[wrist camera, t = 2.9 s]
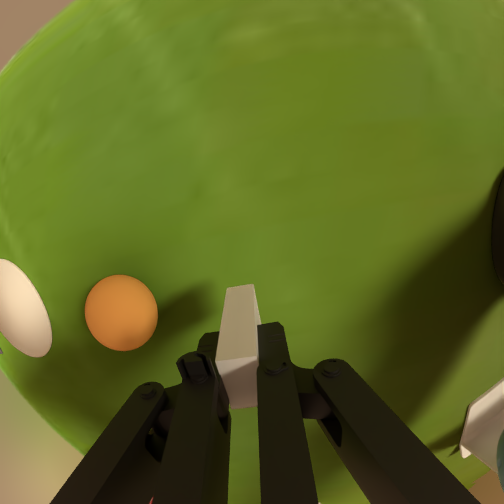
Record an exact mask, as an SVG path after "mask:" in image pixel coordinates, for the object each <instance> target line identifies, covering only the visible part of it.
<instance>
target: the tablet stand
mask: <svg viewBox="0 0 504 504" xmlns="http://www.w3.org/2000/svg"><path fill="white" fill-rule="evenodd" d="M503 429H504V377H503V378H502V379H501V380H500V381H499V382H497V383H496V384H495V385H494V386H492V387H491V388H490V389H489V390H487V391H486V392H485V393H484V394H482V395H481V396H480V397H478V398H477V399H475V400H474V401H473V402H472V403H471V404H470V405H469V407H468V412H467V416H466V421H465V425H464V429H463V433H462V437H461V440H460V444H459V447H460V454H461V456H462V457H463V458H466V457H467V456H469V455H470V454H473V455H474V456H476V457H477V458H478V459H479V460H481V461H482V462H483V463H484V464H486V465H487V466H488V467H490V468H491V469H492V470H493V471H495V472H496V473H497V474H498V468H497V461H496V454H497V445H498V441H499V438H500V435H501V433H502V431H503Z"/></svg>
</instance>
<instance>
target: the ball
mask: <svg viewBox="0 0 504 504" xmlns="http://www.w3.org/2000/svg"><path fill="white" fill-rule="evenodd" d="M85 318H86V322H87V325H88V328H89V330H90V332H91V333H92V335H93V336H94V337H95V338H96V339H97V340H98V341H99V342H100V343H101V344H103V345H104V346H106V347H108V348H110V349H113V350H118V351H129V350H133V349H136V348H138V347H140V346H142V345H143V344H145V343H146V342H147V341H148V340H149V339H150V337H151V336H152V334H153V333H154V331H155V328H156V325H157V320H158V309H157V304H156V301H155V299H154V296H153V294H152V293H151V291H150V290H149V289H148V288H147V286H145V285H144V284H143V283H142V282H141V281H139V280H138V279H136V278H133V277H131V276H127V275H112V276H109V277H106V278H104V279H102V280H101V281H99V282H98V283H97V284H96V285H95V286H94V287H93V288H92V289H91V291H90V293H89V295H88V297H87V300H86V304H85Z"/></svg>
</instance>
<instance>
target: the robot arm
mask: <svg viewBox="0 0 504 504" xmlns="http://www.w3.org/2000/svg"><path fill="white" fill-rule="evenodd" d="M492 254H493V261H494V266H495V270H496V273H497V276H498V278H499V279H500V281H501V282H502V283H503V285H504V176H503V179H502V182H501V185H500V188H499V191H498V195H497V199H496V204H495V210H494V217H493V226H492ZM176 365H177V367H178V369H179V372H180V374H181V376H182V379H183V380H182V383H181V384H178V385H176V386H172V387H169V388H165V389H164V387H163V386H162V385H161V384H160V383H158V382H147V383H144V384H142V385H140V386H138V387H137V388H136V389H135V390H134V392H133V393H132V394H131V396H130V397H129V398H128V400H127V401H126V402H125V404H124V405H123V406H122V408H121V409H120V410H119V411H118V413H117V414H116V415H115V417H114V418H113V419H112V421H111V422H110V423H109V425H108V426H107V427H106V429H105V430H104V431H103V433H102V434H101V435H100V437H99V438H98V439H97V441H96V442H95V443H94V445H93V446H92V447H91V449H90V450H89V451H88V453H87V454H86V455H85V457H84V458H83V459H82V461H81V462H80V463H79V465H78V466H77V467H76V469H75V470H74V471H73V473H72V474H71V475H70V477H69V478H68V479H67V481H66V482H65V484H64V485H63V486H62V488H61V489H60V490H59V492H58V493H57V495H56V496H55V497H54V499H53V500H52V501H51V503H50V504H149V503H150V501H151V499H152V497H153V500H152V504H227V501H228V477H229V455H230V434H231V415H230V412H229V403H230V406H231V409H238V408H248V407H256V406H258V431H259V458H260V486H261V504H318V498H317V493H316V487H315V481H314V476H313V470H312V465H311V460H310V454H309V449H308V444H307V438H306V433H305V428H304V423H303V418H307V419H317V422H318V423H319V425H320V427H321V428H322V430H323V431H324V433H325V435H326V436H327V438H328V439H329V441H330V442H331V444H332V446H333V447H334V449H335V450H336V452H337V453H338V455H339V456H340V458H341V459H342V461H343V463H344V464H345V466H346V467H347V469H348V470H349V472H350V473H351V475H352V476H353V478H354V479H355V481H356V482H357V484H358V485H359V487H360V488H361V490H362V491H363V493H364V494H365V496H366V497H367V499H368V500H369V502H370V503H371V504H481V503H480V502H479V501H478V500H477V499H476V498H474V496H473V495H472V494H471V493H470V492H469V491H468V490H467V489H466V488H465V487H464V486H463V485H462V484H461V483H460V482H459V481H458V480H457V478H456V477H455V476H454V475H453V474H452V473H451V472H450V471H449V470H448V469H447V468H446V467H445V466H444V465H443V464H442V463H441V462H440V461H439V460H438V459H437V458H436V456H435V455H434V454H433V453H432V452H431V451H430V450H429V449H428V448H427V447H426V446H425V445H424V444H423V443H422V442H421V441H420V440H419V439H418V437H417V436H416V435H415V434H414V433H413V432H412V431H411V430H410V429H409V428H408V427H407V426H406V425H405V424H404V423H403V422H402V421H401V420H400V418H399V417H398V416H397V415H396V414H395V413H394V412H393V411H392V410H391V409H390V408H389V407H388V406H387V405H386V404H385V403H384V401H383V400H382V399H381V398H380V397H379V396H378V395H377V394H376V393H375V392H374V391H373V390H372V389H371V388H370V387H369V385H368V384H367V383H366V382H365V381H364V380H363V379H362V378H361V377H360V376H359V375H358V374H357V373H356V372H355V371H354V369H353V368H352V367H351V366H350V365H349V364H348V363H347V362H345V361H344V360H340V359H327V360H323V361H321V362H319V363H318V364H317V365H316V366H315V367H314V369H305V368H300V367H297V366H296V365H294V364H293V363H292V362H291V360H290V356H289V351H288V346H287V342H286V337H285V332H284V327H283V326H282V325H281V324H280V323H279V322H272V323H267V324H261V321H260V316H259V311H258V306H257V300H256V295H255V290H254V285H253V284H248V285H242V286H236V287H230V288H227V291H226V297H225V303H224V309H223V315H222V321H221V327H220V331H218V332H211V333H205V334H204V335H203V336H202V337H201V339H200V340H199V344H198V348H197V351H194V352H189V353H187V354H185V355H183V356H181V357H180V358H179V359H178V360H177V362H176ZM151 428H152V429H151ZM150 430H151V431H150ZM149 431H150V432H149ZM496 461H497V468H498V476H499V480H500V483H501V487H502V489H503V492H504V429H503V431H502V433H501V435H500V438H499V441H498V445H497V454H496Z"/></svg>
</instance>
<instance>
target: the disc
mask: <svg viewBox="0 0 504 504" xmlns="http://www.w3.org/2000/svg"><path fill="white" fill-rule="evenodd" d="M0 331H1V332H2V334H3V335H4V336H5V338H6V339H7V340H8V341H9V342H10V343H11V344H12V345H13V346H14V347H15V348H17V349H18V350H19V351H21V352H22V353H24V354H26V355H28V356H31V357H42V356H44V355H45V354H46V353H47V352H48V351H49V350H50V348H51V345H52V328H51V323H50V319H49V316H48V313H47V310H46V308H45V305H44V303H43V301H42V299H41V297H40V295H39V293H38V291H37V290H36V288H35V286H34V285H33V284H32V282H31V281H30V279H29V278H28V277H27V276H26V274H25V273H24V272H23V271H22V270H21V269H20V268H19V267H18V266H17V265H15V264H14V263H12V262H10V261H8V260H6V259H0Z"/></svg>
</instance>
